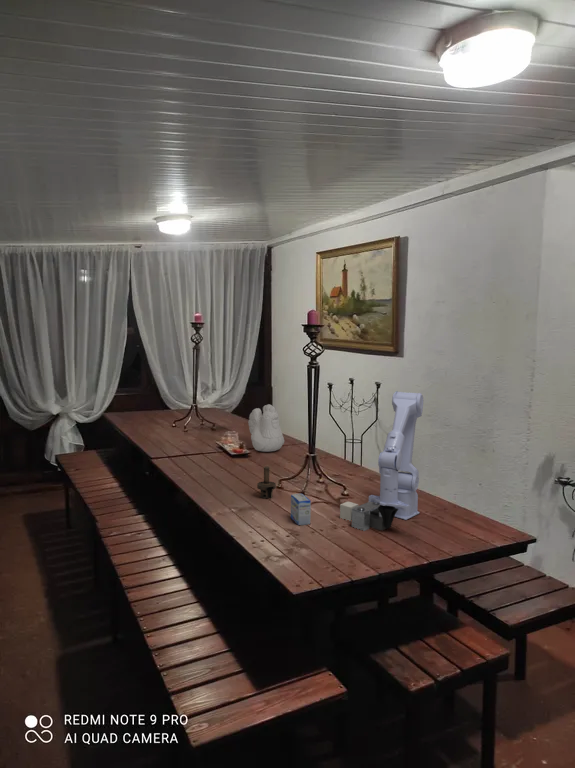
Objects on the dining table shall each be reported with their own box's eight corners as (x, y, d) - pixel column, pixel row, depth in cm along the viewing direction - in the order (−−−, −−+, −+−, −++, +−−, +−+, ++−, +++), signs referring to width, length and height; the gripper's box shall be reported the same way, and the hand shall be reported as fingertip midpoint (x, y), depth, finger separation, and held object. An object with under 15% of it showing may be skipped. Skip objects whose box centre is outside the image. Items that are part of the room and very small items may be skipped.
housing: (372, 517, 198) (372, 499, 197) (384, 521, 194) (384, 502, 193) (351, 527, 189) (352, 507, 188) (363, 531, 186) (364, 511, 185)
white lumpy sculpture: (288, 453, 288) (289, 405, 285) (260, 456, 281) (260, 407, 278) (269, 442, 310) (269, 398, 307) (242, 445, 304) (242, 400, 301)
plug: (347, 514, 200) (348, 501, 200) (388, 527, 189) (388, 513, 188) (339, 518, 197) (340, 504, 196) (380, 531, 186) (381, 516, 185)
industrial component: (278, 499, 217) (278, 468, 215) (261, 501, 214) (261, 470, 213) (270, 491, 226) (270, 462, 224) (253, 493, 223) (253, 464, 221)
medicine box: (290, 518, 197) (290, 494, 196) (302, 516, 198) (302, 492, 197) (298, 526, 190) (298, 501, 188) (310, 524, 191) (311, 499, 190)
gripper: (363, 485, 186) (362, 524, 188) (401, 495, 177) (400, 536, 178) (375, 480, 192) (374, 519, 193) (413, 490, 182) (411, 530, 183)
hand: (387, 527), depth 186 cm, fingers closed
